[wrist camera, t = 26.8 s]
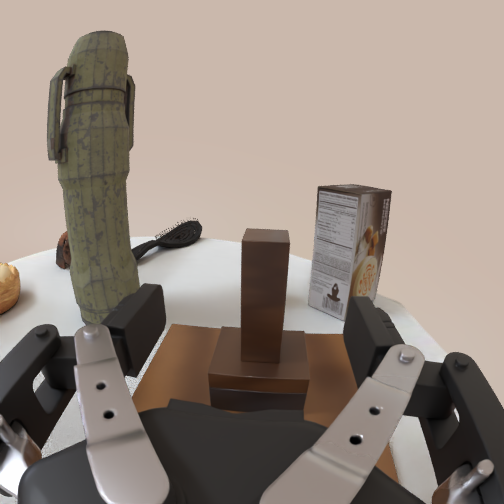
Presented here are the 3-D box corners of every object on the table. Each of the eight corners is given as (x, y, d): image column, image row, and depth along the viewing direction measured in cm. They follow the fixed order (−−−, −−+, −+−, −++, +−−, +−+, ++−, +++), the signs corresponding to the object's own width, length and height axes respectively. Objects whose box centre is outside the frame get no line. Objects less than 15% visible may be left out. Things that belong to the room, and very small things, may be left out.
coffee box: (341, 285, 45) (353, 183, 40) (376, 299, 40) (393, 190, 35) (305, 305, 39) (316, 184, 34) (344, 323, 35) (364, 193, 29)
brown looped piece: (57, 259, 53) (69, 223, 53) (95, 274, 57) (107, 238, 57) (43, 265, 42) (57, 220, 43) (88, 283, 46) (103, 239, 47)
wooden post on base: (210, 408, 20) (199, 247, 16) (223, 361, 26) (219, 221, 21) (302, 414, 20) (330, 253, 15) (299, 365, 25) (316, 226, 21)
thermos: (161, 299, 39) (157, 39, 28) (106, 343, 29) (91, 13, 17) (116, 287, 42) (108, 55, 30) (61, 322, 31) (43, 42, 20)
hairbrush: (104, 250, 49) (181, 215, 71) (108, 268, 51) (181, 229, 72) (135, 257, 46) (209, 219, 68) (138, 277, 48) (210, 234, 69)
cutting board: (72, 544, 7) (61, 538, 7) (173, 334, 32) (172, 323, 31) (404, 574, 6) (416, 570, 5) (350, 344, 30) (353, 333, 30)
